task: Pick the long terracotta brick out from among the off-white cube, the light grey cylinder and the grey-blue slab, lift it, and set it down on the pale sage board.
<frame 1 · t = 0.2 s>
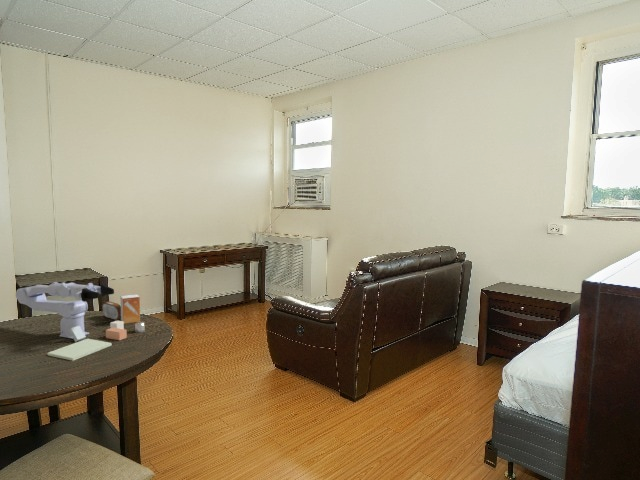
hand: (106, 293, 178), 21 cm above the table, tool horizontal, fingers open, 7 cm apart
off-white cube: (117, 330, 195), on the table
board: (80, 350, 170), on the table
tin: (112, 319, 213), on the table
terracotta brick: (116, 338, 185), on the table
light grey cylinder: (140, 331, 194), on the table
small box: (130, 321, 209), on the table
grey-blue slab: (76, 334, 181), point 2 cm above the table, tilted 50°
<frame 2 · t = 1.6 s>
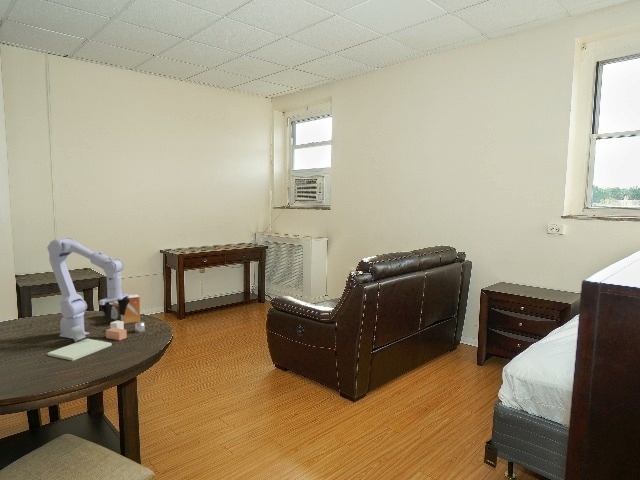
hand: (115, 317, 184), 9 cm above the table, tool pointing down, fingers open, 7 cm apart
grey-blue slab: (76, 334, 181), point 2 cm above the table, tilted 50°, touching arm
everything else where it was.
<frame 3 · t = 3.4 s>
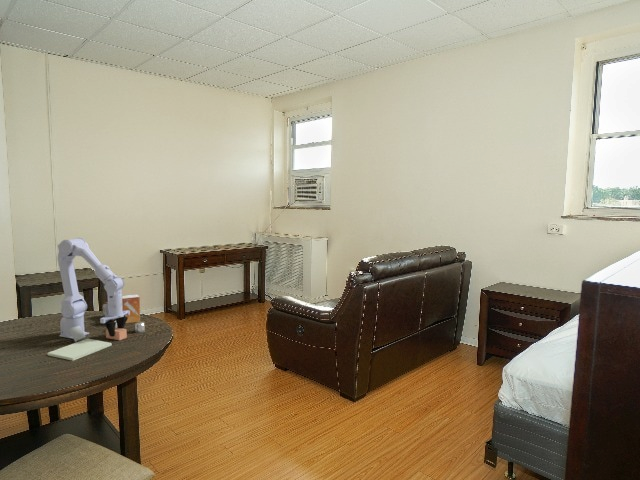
hand: (116, 334, 185), 1 cm above the table, tool pointing down, fingers closed on terracotta brick, 4 cm apart
terracotta brick: (116, 337, 185), on the table, touching gripper
everything else where it was.
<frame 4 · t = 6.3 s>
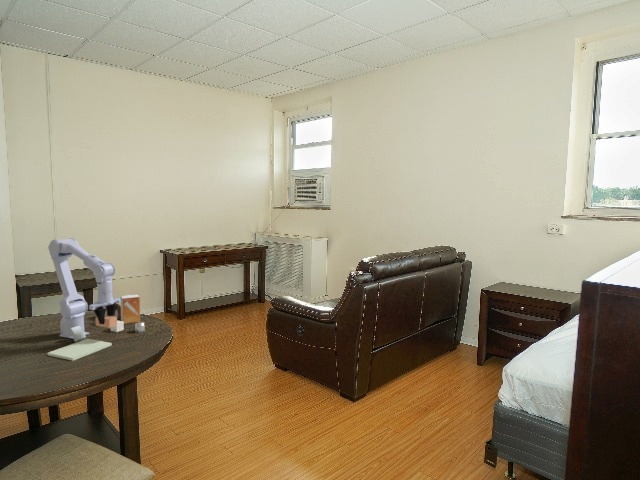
hand: (106, 322, 180), 8 cm above the table, tool pointing down, fingers closed on terracotta brick, 4 cm apart
terracotta brick: (106, 325, 180), point 7 cm above the table, touching gripper
everything else where it was.
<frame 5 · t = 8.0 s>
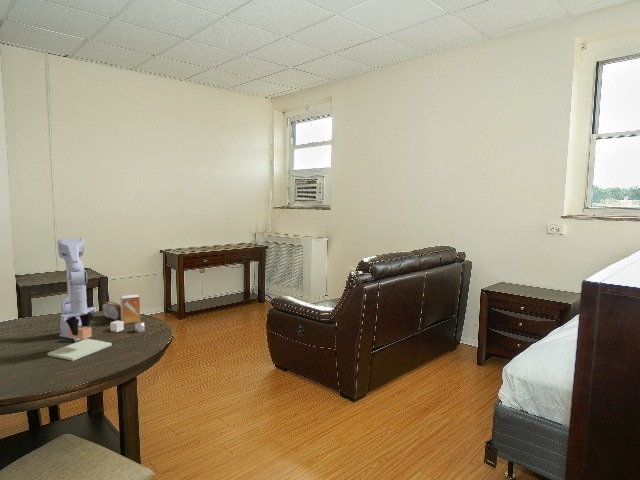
hand: (80, 333, 169), 7 cm above the table, tool pointing down, fingers closed on terracotta brick, 4 cm apart
terracotta brick: (80, 336, 169), point 6 cm above the table, touching gripper
grey-blue slab: (76, 334, 181), point 2 cm above the table, tilted 50°
everything else where it was.
when the fingers open (3 cm above the table, at t = 9.4 s): terracotta brick stays where it is, resting on board.
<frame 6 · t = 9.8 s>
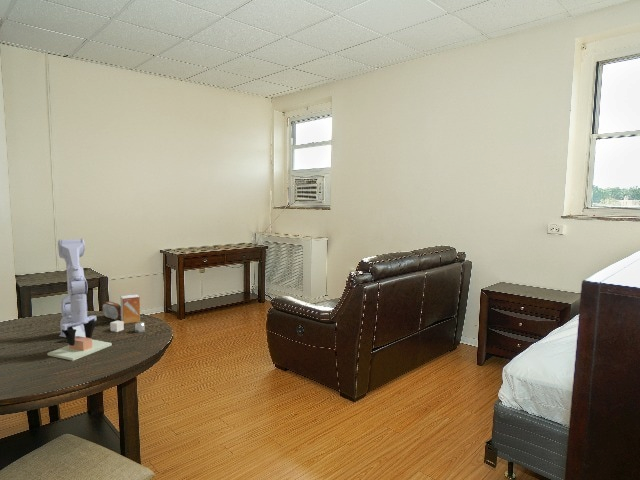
hand: (80, 342, 169), 3 cm above the table, tool pointing down, fingers open, 7 cm apart
terracotta brick: (80, 347, 169), point 1 cm above the table, touching board
everything else where it was.
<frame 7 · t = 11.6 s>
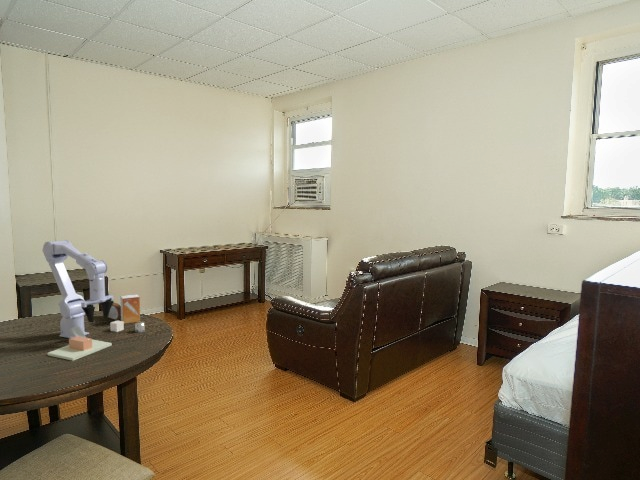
hand: (98, 319, 180), 9 cm above the table, tool pointing down, fingers open, 7 cm apart
nothing on the table moved.
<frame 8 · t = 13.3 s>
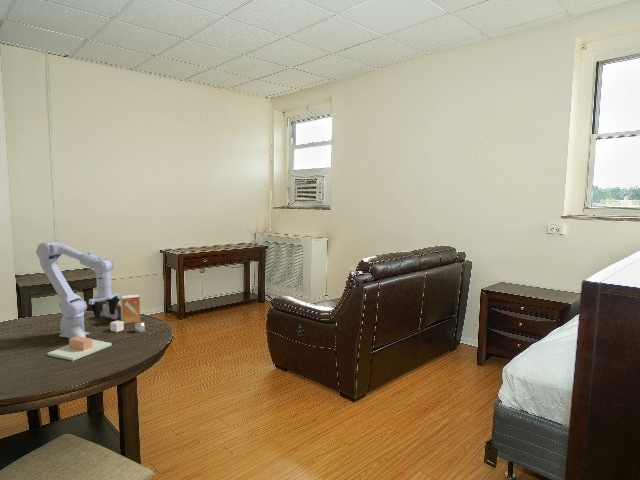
hand: (105, 316, 185), 9 cm above the table, tool pointing down, fingers open, 7 cm apart
grey-blue slab: (76, 334, 181), point 2 cm above the table, tilted 50°, touching arm
everything else where it was.
at the end: terracotta brick inside the target area on the board (0.1 cm from its centre), point 1.0 cm above the board's base; terracotta brick tilted 0°; the gripper is holding nothing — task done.
